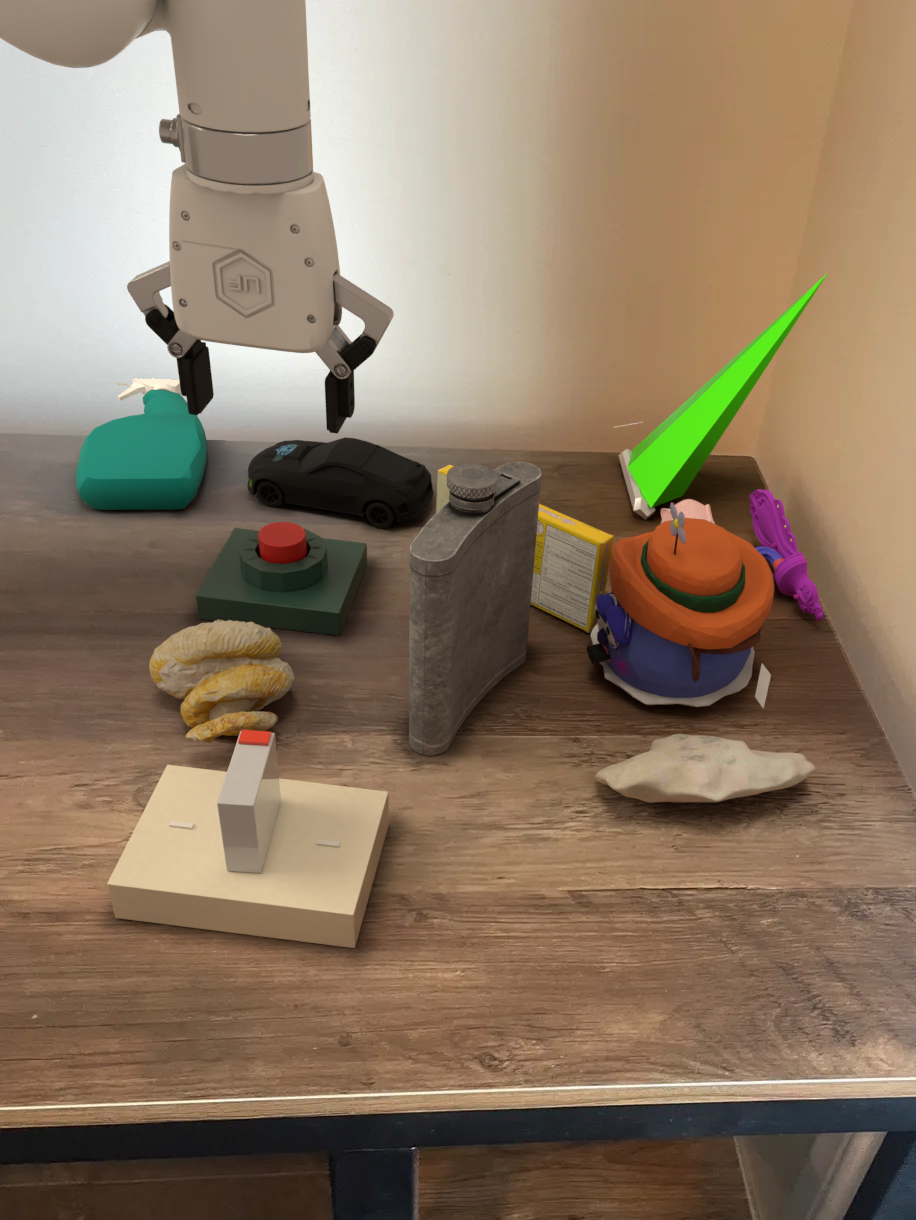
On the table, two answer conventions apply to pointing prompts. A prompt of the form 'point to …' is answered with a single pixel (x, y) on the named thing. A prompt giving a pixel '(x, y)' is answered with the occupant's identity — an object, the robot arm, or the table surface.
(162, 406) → the spray bottle
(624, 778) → the stone tool
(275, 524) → the button
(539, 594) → the candy box
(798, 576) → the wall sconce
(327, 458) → the toy car
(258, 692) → the cream yellow lumpy piece
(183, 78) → the robot arm
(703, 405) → the paper cone
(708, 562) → the toy
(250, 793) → the tap handle
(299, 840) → the block
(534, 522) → the flask
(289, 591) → the button box
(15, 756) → the table surface
